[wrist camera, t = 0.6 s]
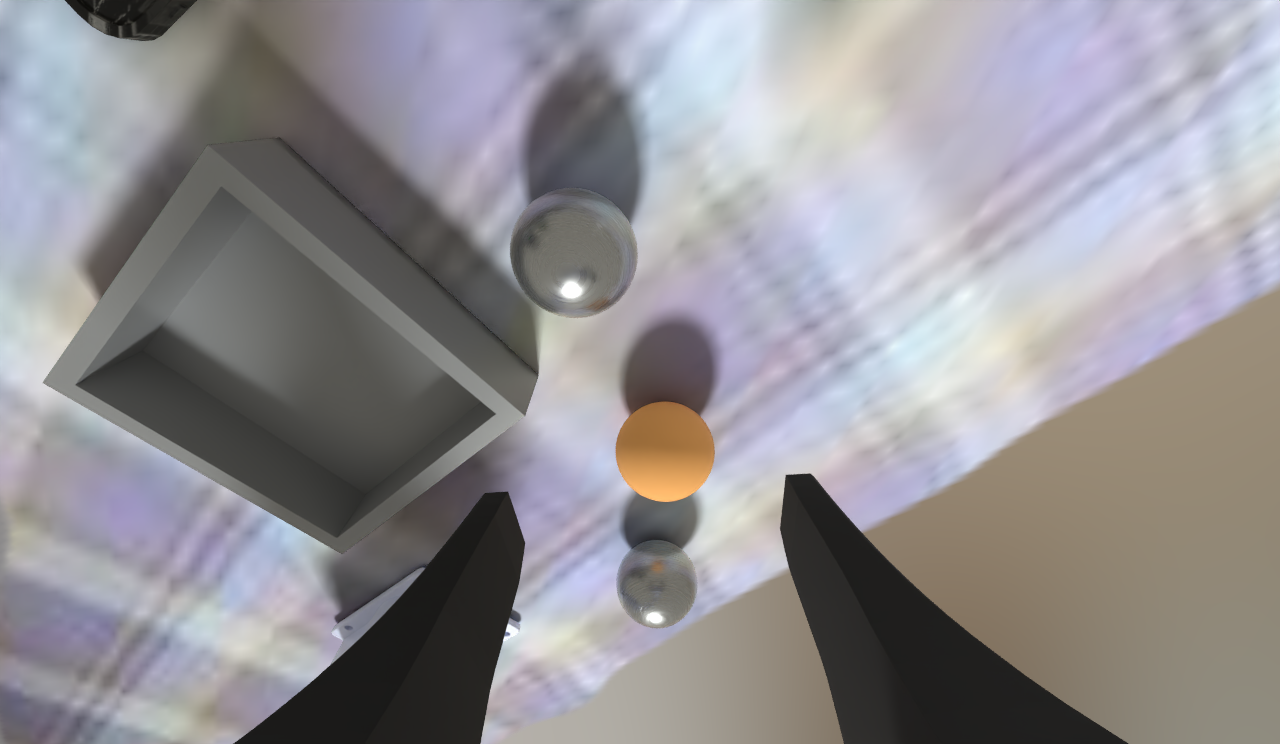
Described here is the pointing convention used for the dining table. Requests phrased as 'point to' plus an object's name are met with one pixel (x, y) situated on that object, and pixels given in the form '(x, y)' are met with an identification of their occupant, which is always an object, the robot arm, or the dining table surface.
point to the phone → (131, 16)
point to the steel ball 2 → (656, 584)
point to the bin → (291, 349)
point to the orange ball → (665, 451)
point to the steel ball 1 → (573, 252)
